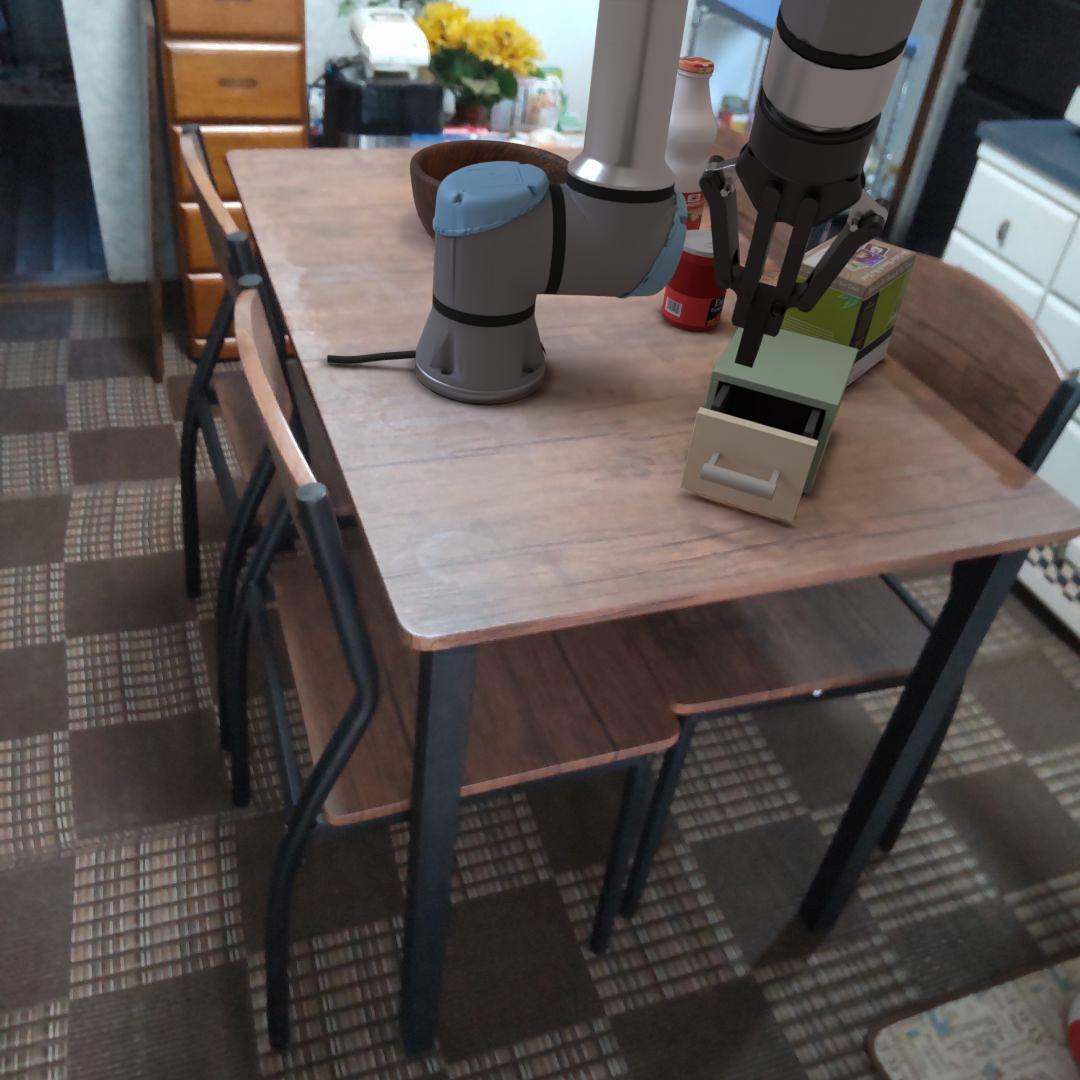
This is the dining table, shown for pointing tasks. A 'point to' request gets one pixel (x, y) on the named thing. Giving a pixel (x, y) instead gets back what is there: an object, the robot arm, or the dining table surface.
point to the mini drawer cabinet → (792, 378)
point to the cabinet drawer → (752, 450)
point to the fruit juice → (691, 133)
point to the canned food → (694, 286)
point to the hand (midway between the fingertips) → (747, 353)
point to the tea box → (857, 301)
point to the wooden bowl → (454, 155)
